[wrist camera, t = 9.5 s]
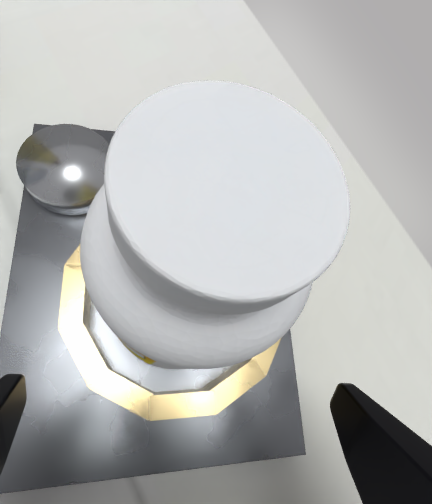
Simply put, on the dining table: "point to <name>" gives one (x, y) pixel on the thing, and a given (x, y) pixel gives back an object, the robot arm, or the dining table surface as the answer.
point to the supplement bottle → (211, 224)
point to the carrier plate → (114, 355)
